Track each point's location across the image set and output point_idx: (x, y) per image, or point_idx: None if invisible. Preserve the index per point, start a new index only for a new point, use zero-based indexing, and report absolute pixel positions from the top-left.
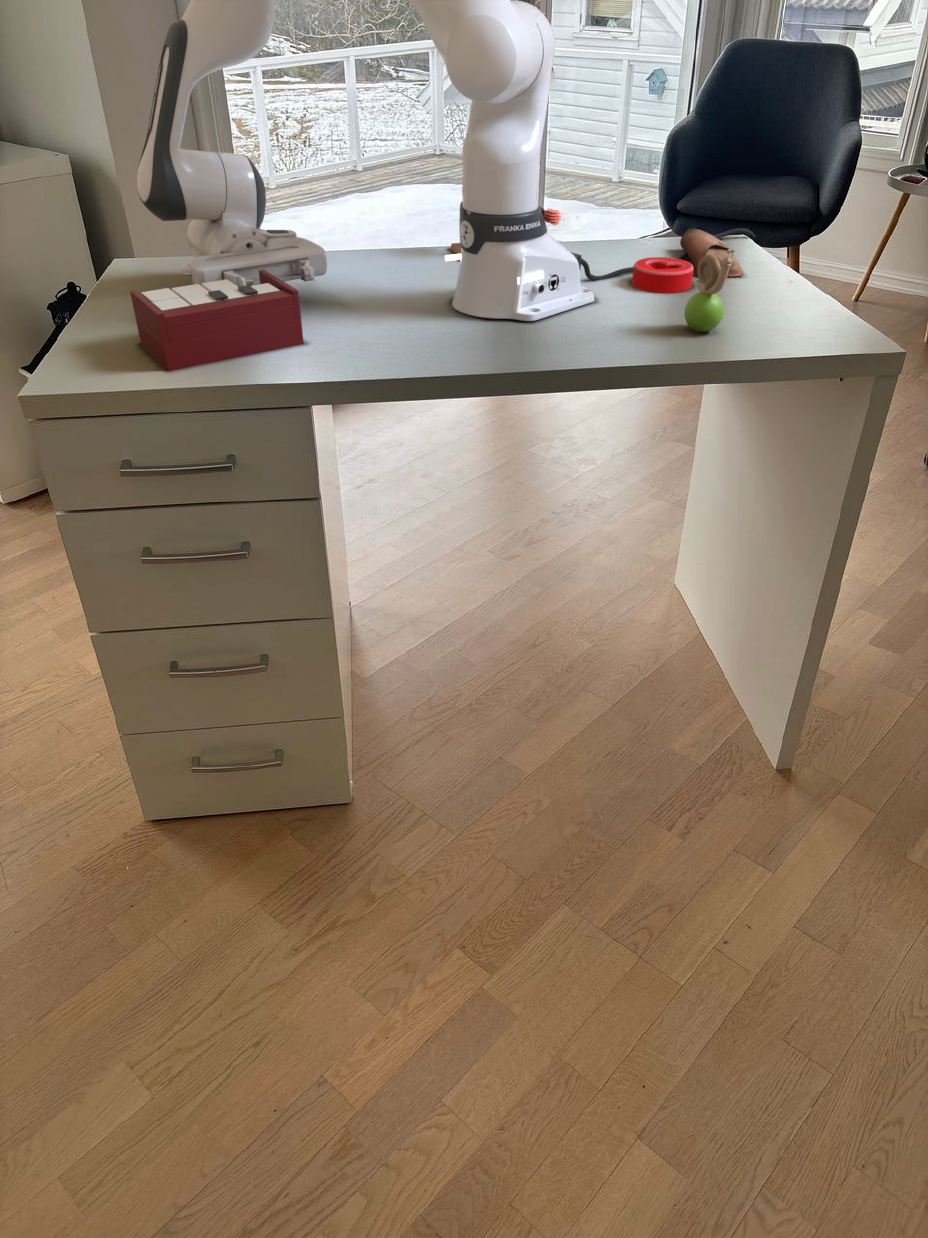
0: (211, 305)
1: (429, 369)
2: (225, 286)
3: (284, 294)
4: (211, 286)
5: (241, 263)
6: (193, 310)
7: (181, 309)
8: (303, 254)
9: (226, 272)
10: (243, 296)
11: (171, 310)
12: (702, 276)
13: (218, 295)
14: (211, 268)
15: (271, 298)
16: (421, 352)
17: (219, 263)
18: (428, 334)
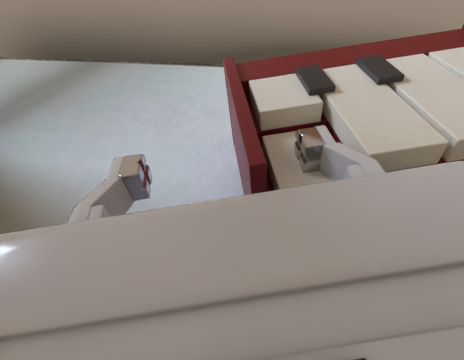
0: (385, 48)
1: (145, 72)
2: (367, 110)
3: (247, 66)
4: (407, 116)
5: (320, 183)
6: (415, 39)
7: (441, 43)
8: (65, 224)
9: (375, 169)
10: (324, 69)
11: (460, 41)
12: None
13: (376, 60)
14: (437, 164)
15: (274, 58)
16: (121, 97)
17: (415, 195)
18: (70, 130)
